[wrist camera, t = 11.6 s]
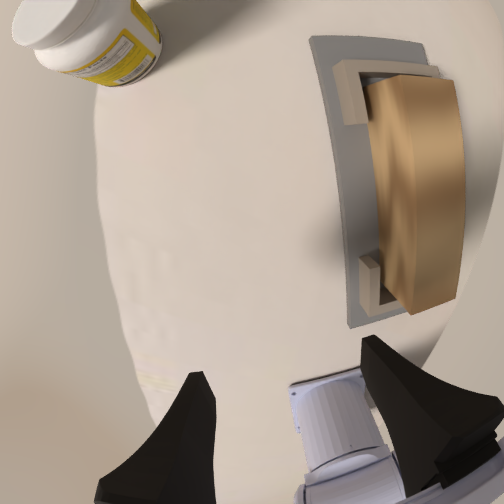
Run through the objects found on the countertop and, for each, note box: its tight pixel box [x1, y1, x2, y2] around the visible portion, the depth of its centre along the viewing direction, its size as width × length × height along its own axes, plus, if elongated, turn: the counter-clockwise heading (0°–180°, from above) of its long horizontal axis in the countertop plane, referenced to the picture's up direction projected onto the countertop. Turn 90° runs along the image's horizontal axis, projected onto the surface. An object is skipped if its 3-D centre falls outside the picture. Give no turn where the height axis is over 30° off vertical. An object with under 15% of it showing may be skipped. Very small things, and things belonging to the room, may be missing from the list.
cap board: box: [309, 36, 440, 329], centre depth 17 cm, size 22×9×3 cm, turn 11°
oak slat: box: [362, 75, 465, 315], centre depth 15 cm, size 14×4×5 cm, turn 12°
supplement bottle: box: [12, 0, 162, 87], centre depth 9 cm, size 5×5×10 cm
